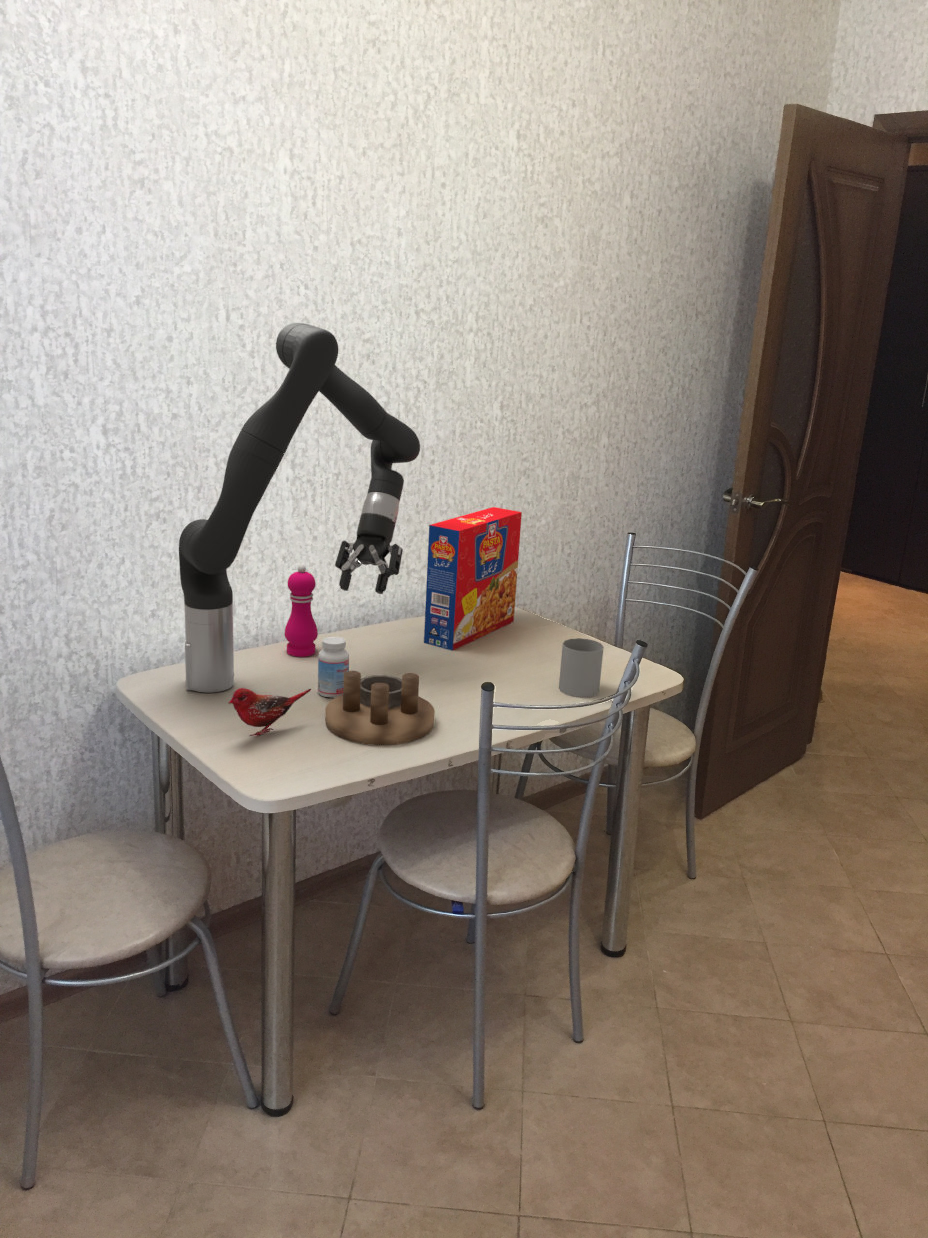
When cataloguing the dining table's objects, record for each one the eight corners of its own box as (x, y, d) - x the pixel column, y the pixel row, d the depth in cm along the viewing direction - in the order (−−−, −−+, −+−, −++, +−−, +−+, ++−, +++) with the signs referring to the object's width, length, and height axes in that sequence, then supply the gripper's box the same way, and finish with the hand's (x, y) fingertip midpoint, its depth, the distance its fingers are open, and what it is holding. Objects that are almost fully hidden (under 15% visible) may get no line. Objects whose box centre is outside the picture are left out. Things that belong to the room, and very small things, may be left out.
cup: (576, 679, 219) (580, 635, 216) (606, 691, 213) (611, 646, 210) (550, 688, 213) (554, 643, 210) (581, 700, 208) (585, 654, 204)
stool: (330, 747, 180) (330, 697, 177) (321, 702, 199) (322, 657, 196) (443, 743, 185) (445, 694, 182) (424, 699, 204) (426, 654, 201)
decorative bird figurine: (224, 741, 180) (223, 689, 177) (306, 717, 192) (306, 667, 189) (233, 747, 178) (232, 694, 175) (315, 722, 190) (316, 672, 187)
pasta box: (452, 650, 232) (459, 531, 223) (423, 643, 236) (429, 524, 227) (513, 621, 255) (521, 512, 246) (486, 615, 259) (493, 506, 250)
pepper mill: (324, 651, 227) (325, 564, 220) (302, 660, 221) (303, 571, 214) (299, 644, 230) (300, 558, 224) (277, 652, 224) (277, 564, 218)
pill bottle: (342, 700, 201) (344, 646, 197) (313, 696, 202) (314, 643, 198) (352, 689, 207) (353, 637, 203) (323, 685, 208) (324, 633, 204)
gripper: (341, 510, 214) (323, 583, 210) (399, 512, 208) (382, 588, 204) (358, 523, 220) (341, 594, 217) (416, 526, 214) (399, 599, 211)
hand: (361, 591), depth 210 cm, fingers open, 8 cm apart
